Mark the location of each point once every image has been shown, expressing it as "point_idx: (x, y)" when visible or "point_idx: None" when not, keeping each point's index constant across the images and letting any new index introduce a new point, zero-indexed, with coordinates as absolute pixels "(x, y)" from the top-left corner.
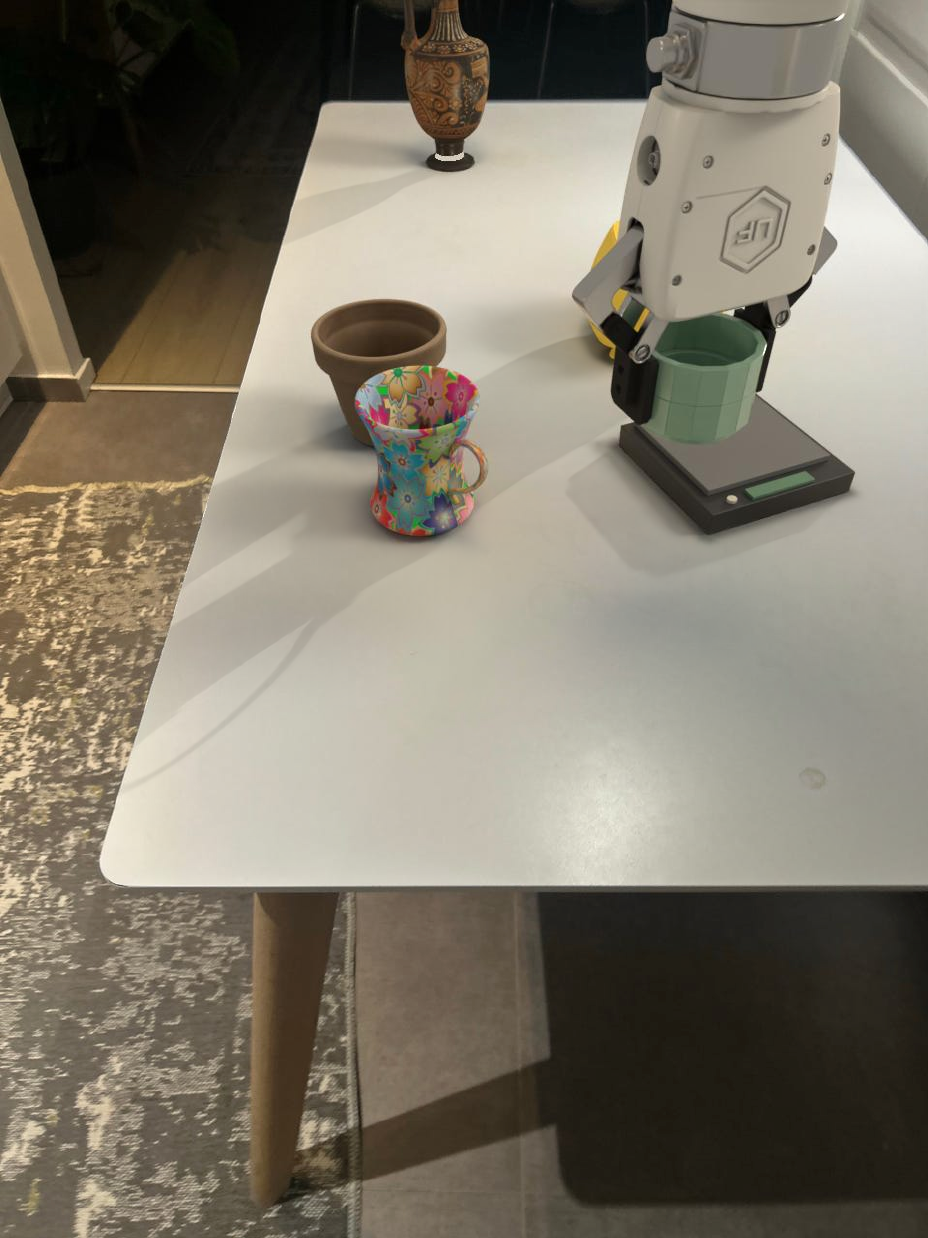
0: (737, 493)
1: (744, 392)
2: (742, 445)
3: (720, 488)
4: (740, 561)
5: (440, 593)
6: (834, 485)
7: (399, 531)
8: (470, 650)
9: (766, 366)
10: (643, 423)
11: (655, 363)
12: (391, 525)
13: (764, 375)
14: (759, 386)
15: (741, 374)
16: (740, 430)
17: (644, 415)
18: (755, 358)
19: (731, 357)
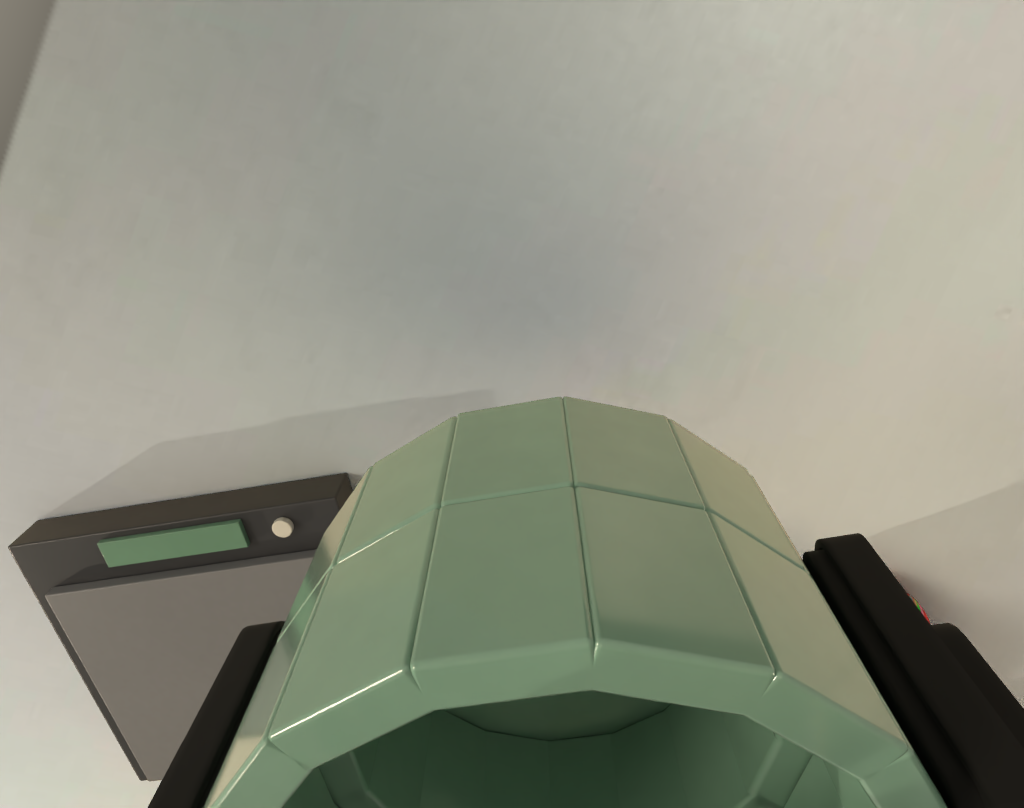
0: (264, 542)
1: (426, 532)
2: (211, 653)
3: (296, 557)
4: (310, 394)
5: (887, 443)
6: (61, 529)
7: (907, 593)
8: (901, 293)
9: (202, 718)
10: (844, 535)
11: (1013, 800)
12: (920, 607)
13: (220, 680)
14: (253, 639)
15: (468, 611)
16: (201, 690)
17: (865, 559)
18: (337, 715)
19: (338, 804)
